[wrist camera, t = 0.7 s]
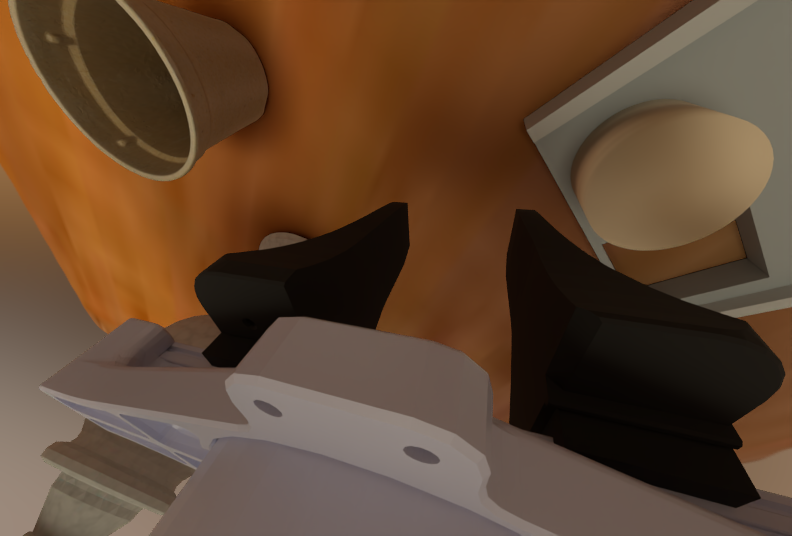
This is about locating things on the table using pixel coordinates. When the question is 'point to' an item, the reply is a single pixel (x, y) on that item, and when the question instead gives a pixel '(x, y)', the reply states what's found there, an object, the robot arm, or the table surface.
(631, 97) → the trap board
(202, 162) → the table surface
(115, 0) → the flower pot
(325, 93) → the table surface
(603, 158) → the beige rounded dome
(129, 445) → the table lamp
